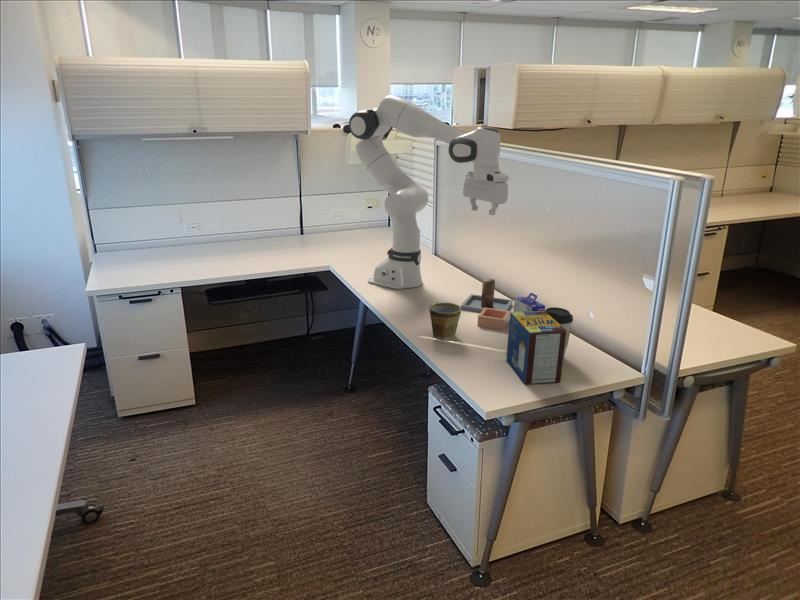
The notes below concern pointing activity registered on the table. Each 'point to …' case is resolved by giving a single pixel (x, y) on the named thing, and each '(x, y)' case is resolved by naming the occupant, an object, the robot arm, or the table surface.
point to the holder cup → (494, 318)
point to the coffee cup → (562, 321)
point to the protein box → (535, 347)
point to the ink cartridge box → (527, 304)
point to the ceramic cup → (444, 320)
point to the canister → (488, 293)
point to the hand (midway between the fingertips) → (483, 212)
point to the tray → (475, 305)
